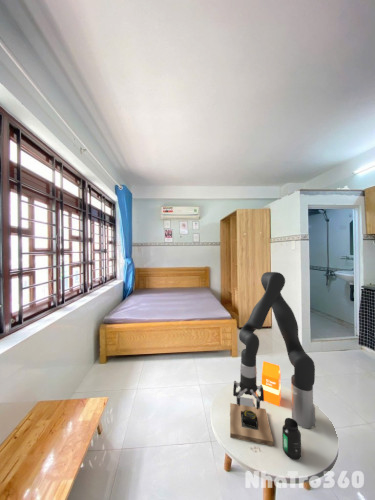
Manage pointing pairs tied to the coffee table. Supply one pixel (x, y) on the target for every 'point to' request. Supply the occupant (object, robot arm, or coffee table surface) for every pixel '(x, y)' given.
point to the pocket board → (248, 434)
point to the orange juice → (271, 383)
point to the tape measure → (249, 418)
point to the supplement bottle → (291, 439)
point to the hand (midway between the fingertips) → (248, 406)
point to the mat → (246, 401)
